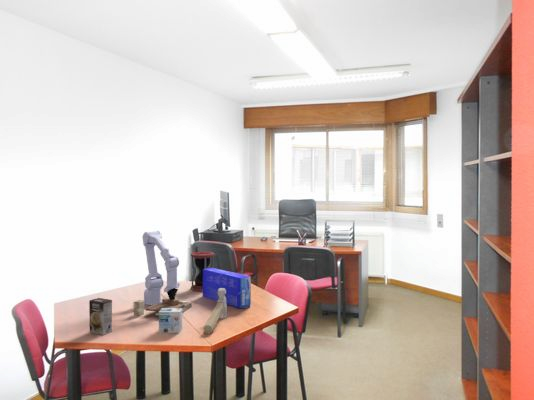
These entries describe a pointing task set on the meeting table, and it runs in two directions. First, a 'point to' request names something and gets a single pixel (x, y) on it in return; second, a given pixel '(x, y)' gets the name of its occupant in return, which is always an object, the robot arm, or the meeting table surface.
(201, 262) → the hourglass
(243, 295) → the toner cartridge box
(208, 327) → the hammer
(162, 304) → the lid
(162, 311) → the light bulb box
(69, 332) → the meeting table surface
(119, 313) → the meeting table surface
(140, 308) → the cream rectangular block
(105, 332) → the coffee box
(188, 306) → the cream rectangular tray
